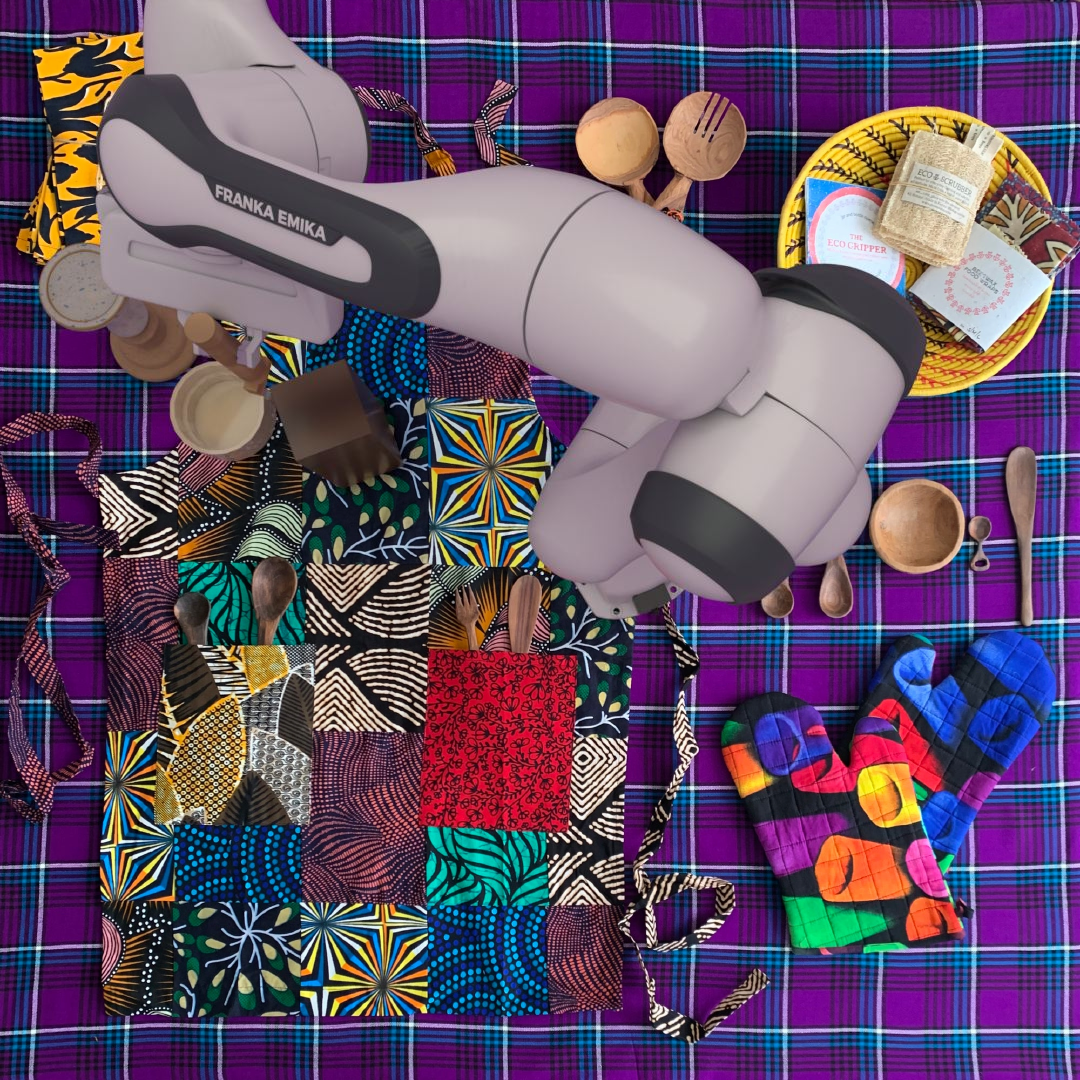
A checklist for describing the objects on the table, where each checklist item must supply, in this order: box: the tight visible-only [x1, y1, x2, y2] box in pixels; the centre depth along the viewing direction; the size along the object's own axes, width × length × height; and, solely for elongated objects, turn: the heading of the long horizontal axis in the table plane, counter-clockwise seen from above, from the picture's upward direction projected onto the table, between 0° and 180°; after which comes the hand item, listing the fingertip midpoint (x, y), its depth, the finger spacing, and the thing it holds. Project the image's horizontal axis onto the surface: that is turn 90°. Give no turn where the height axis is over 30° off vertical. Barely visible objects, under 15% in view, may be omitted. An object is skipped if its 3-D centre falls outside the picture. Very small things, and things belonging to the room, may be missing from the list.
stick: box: [184, 312, 273, 396], centre depth 82 cm, size 4×3×16 cm
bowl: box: [169, 360, 277, 462], centre depth 120 cm, size 12×12×6 cm
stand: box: [268, 358, 405, 490], centre depth 112 cm, size 9×9×22 cm
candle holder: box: [38, 242, 199, 383], centre depth 114 cm, size 12×12×20 cm
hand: (227, 358), depth 81 cm, fingers closed on stick, 2 cm apart
